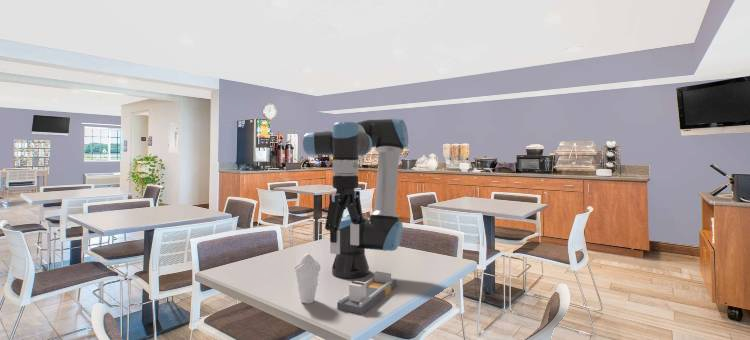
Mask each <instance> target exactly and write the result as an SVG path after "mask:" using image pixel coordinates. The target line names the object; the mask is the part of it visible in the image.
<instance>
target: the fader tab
mask: <svg viewBox="0 0 750 340" xmlns="http://www.w3.org/2000/svg"><path fill="white" fill-rule="evenodd" d="M365 282H366V281H365ZM365 282H364V281H358V280H354V281H353V280H352V281H351V283H349V285H348V293H349V300H350V301H355V302H362V301H363V300H364V299H366V283H365Z"/></svg>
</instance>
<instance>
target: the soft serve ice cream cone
mask: <svg viewBox="0 0 750 340" xmlns="http://www.w3.org/2000/svg"><path fill="white" fill-rule="evenodd" d="M294 270H295V271H294V272H295V274H296V275H295V276H296V283H297V284H296V286H297V289H298V292H299V294H298V295H299V299H300V302H301V304H311V303H314V302H315V299H316V292H317V289H318V288H317V287H318V285H319V284H318V280H319V279H318V278H319V275H320V274H319V272H320V271H321V264H320V262H318V260H316V259H315V258H314V257H313V256H312V255H311V254H310V253H307V252H306V253H305V254H304V256H303V257H301V258H300V259H299V260H298V262H296V263H295V266H294Z"/></svg>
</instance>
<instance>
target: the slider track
mask: <svg viewBox="0 0 750 340" xmlns="http://www.w3.org/2000/svg"><path fill="white" fill-rule="evenodd" d="M365 283H366V299H364V300H363V301H362V302H355V301H350V300H349V292H348V293H346V294H345V295H344V296H342V297H341V298H339V299H338V302H337V306H336V307H337V308H336V309H337V310H342V311H345V312H350V313H354V314H360V315H364V314H365V313H366V312H368V311H369V310H370V309H371V308H373V307H374V306H375V305H376V304H377V303H379V302H380V301H381V300H382V299H384V297H386V296H387V295H388V294H390V292H392V291H393V290H394V289H395V288H396V287H398V281H397V280H396V279H395V280H394V279H392V273H390V272H389V273H388V272H382V271H374V272H373V276H372V277H371V278H369V279H368V280H367V281H365Z"/></svg>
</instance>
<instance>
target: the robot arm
mask: <svg viewBox="0 0 750 340" xmlns="http://www.w3.org/2000/svg"><path fill="white" fill-rule="evenodd" d="M408 144H409V133H408V129H407V125H406V121H405V120H404V119H400V118H397V119H396V118H391V119H390V118H387V119H366V120H362V121H359V122H353V121H337V122H334V124H333V127H332V129H331V130H326V131H319V132H317V131H316V132H315V131H313V132H307V133H305V134H304V136H303V138H302V148H303V151H304V153H305V154H306V155H310V156H311V155H312V156H313V155H314V156H332V174H334V175H333V176H332V188H333V189H335V190H336V192H335V193H334V194H333V193H330V194H329V204H328V208H327V209H328V210H327V215H326V221H325V224H324V229H325V230H326V231H329V237H330V239H329V243H330V244H329V245H330V247H329V248H330V249H329V253H330V254H334V255H335V257H334V261H333V264H332V266H331V274H332V275H333V276H334V277H337V278H341V279H359V278H363V277H366V276H367V275H369V273H370V266H369V264H368V259H367V257H366V253H365V252H366V251H365V250H373V251H374V250H376V251H383V252H386V251H387V252H388V251H389V252H390V251H391V252H393V251H396V250H397V249H398V247H399V246H400V243H401V241H402V237H403V231H404V230H403V223H402V221H400V218H399V217H400V216H399V215H398V214H397V213H396V209H397V208H396V207H397V206H396V205H397V194H398V193H397V191H398V179H399V178H398V177H399V167H400V166H399V165H400V156H401V154H403V153H404V148H407V147H408V146H409V145H408ZM372 148H375V152H376V153H378V159H377V160H378V162H377V172H376V174H377V175H376V183H375V194H374V195H375V198H374V210H373V211H372V213H370V214H369V219H366V217H365V215H363V210H362V209H363V208H362V203H361V192H360V191H361V190H355V189H358V188H359V176H358V175H357V174H359V167H360V165H359V156H364V155H367V154H368V153H370V151H371V150H372ZM346 209H347V213H348V216H343V215H344V211H346Z"/></svg>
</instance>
